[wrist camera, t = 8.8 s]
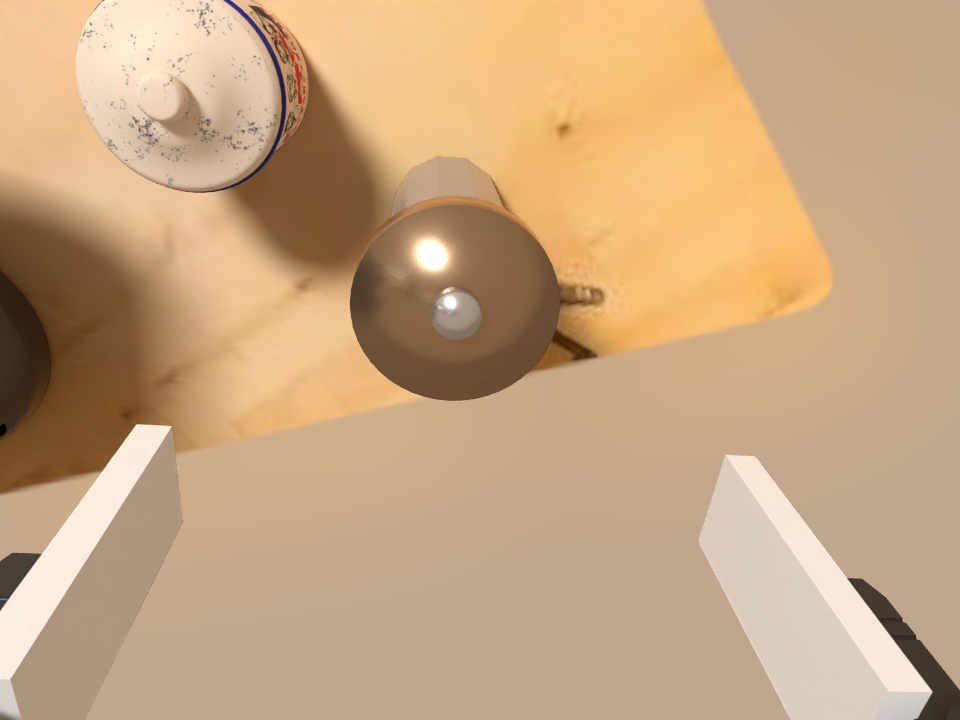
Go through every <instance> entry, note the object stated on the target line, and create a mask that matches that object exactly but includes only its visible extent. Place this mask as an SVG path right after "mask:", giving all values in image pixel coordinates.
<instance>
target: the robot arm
mask: <svg viewBox="0 0 960 720" xmlns="http://www.w3.org/2000/svg"><path fill="white" fill-rule="evenodd" d="M49 377H50V353H49V347H48V343H47V339H46V336H45V333H44V331H43V328H42V326H41V324H40V322H39V320H38V318H37V316H36V314H35V313H34V311H33V309H32V308H31V306H30V305H29V303H28V302H27V300H26V299H25V298H24V297H23V295H22V294H21V293H20V292H19V290H18V289H17V288H16V287H15V286H14V285H13V284H12V283H11V282H10V281H9V280H8V279H7V278H6V277H5V276H4V275H3V274H2V273H0V441H1V440H2V439H4V438H5V437H7V436H8V435H9V434H11V433H12V432H13V431H14V430H15V429H16V428H17V427H18V426H19V425H20V424H21V423H22V422H23V421H24V420H25V419H26V418H28V417H29V416H30V415H31V414H32V413H33V411H34V410H35V409H36V408H37V406H38V405H39V404H40V402H41V400H42V398H43V396H44V394H45V392H46V389H47V386H48V382H49ZM182 523H183V522H182V512H181V503H180V494H179V485H178V476H177V466H176V457H175V448H174V439H173V429H172V426H160V425H141V424H137V425H136V426H135V427H134V429H133V430H132V431H131V433H130V434H129V436H128V437H127V438H126V440H125V441H124V442H123V444H122V445H121V446H120V448H119V449H118V451H117V452H116V453H115V455H114V456H113V457H112V459H111V460H110V462H109V463H108V464H107V466H106V467H105V468H104V470H103V471H102V472H101V474H100V475H99V477H98V478H97V479H96V481H95V482H94V483H93V485H92V486H91V488H90V489H89V490H88V492H87V493H86V494H85V496H84V497H83V498H82V500H81V501H80V503H79V504H78V505H77V507H76V508H75V509H74V511H73V512H72V514H71V515H70V516H69V518H68V519H67V520H66V522H65V523H64V525H63V526H62V527H61V529H60V530H59V531H58V533H57V534H56V536H55V537H54V538H53V540H52V541H51V542H50V544H49V545H48V547H47V548H46V549H45V550H44V552H43V553H42V554H31V553H30V554H29V553H11V554H10V555H9V556H7V557H6V558H4V559H3V560H1V561H0V720H85V719H86V717H87V714H88V713H89V711H90V709H91V707H92V704H93V702H94V700H95V698H96V696H97V694H98V692H99V690H100V688H101V686H102V684H103V682H104V680H105V678H106V676H107V674H108V672H109V670H110V668H111V666H112V664H113V662H114V660H115V658H116V656H117V654H118V652H119V650H120V648H121V646H122V644H123V642H124V639H125V638H126V636H127V634H128V632H129V630H130V627H131V626H132V624H133V621H134V620H135V618H136V616H137V614H138V612H139V610H140V608H141V605H142V604H143V601H144V599H145V597H146V595H147V593H148V591H149V589H150V587H151V585H152V583H153V581H154V579H155V577H156V575H157V573H158V571H159V569H160V567H161V565H162V563H163V561H164V559H165V557H166V555H167V553H168V551H169V549H170V547H171V545H172V543H173V541H174V539H175V537H176V535H177V533H178V530H179V529H180V527H181V525H182ZM698 542H699V544H700V546H701V548H702V550H703V552H704V554H705V556H706V558H707V559H708V562H709V563H710V565H711V567H712V569H713V571H714V573H715V575H716V577H717V579H718V581H719V582H720V585H721V587H722V588H723V590H724V592H725V594H726V596H727V598H728V600H729V602H730V604H731V606H732V608H733V610H734V612H735V613H736V615H737V617H738V619H739V621H740V623H741V625H742V627H743V629H744V631H745V633H746V635H747V637H748V639H749V640H750V642H751V644H752V646H753V648H754V650H755V652H756V654H757V656H758V658H759V660H760V662H761V664H762V665H763V667H764V669H765V671H766V673H767V675H768V677H769V679H770V681H771V683H772V685H773V687H774V689H775V690H776V692H777V694H778V696H779V698H780V700H781V702H782V704H783V706H784V708H785V710H786V711H787V713H788V715H789V717H790V719H791V720H960V690H959V689H958V688H957V686H956V685H955V684H954V683H953V681H952V680H951V679H950V677H949V676H948V675H947V674H946V672H945V671H944V670H943V669H942V667H941V666H940V665H939V664H938V663H937V661H936V660H935V659H934V657H933V656H932V655H931V654H930V652H929V651H928V650H927V649H926V647H925V646H924V645H923V644H922V642H921V641H920V640H917V639H916V635H915V634H914V632H913V631H912V630H911V629H910V627H909V626H908V625H907V624H906V623H903V621H902V617H901V616H900V615H899V613H898V612H897V611H896V610H895V608H894V607H893V606H892V605H891V603H890V602H889V601H888V600H887V598H886V597H885V596H883V595H882V594H881V593H879V592H878V591H877V590H876V589H874V588H873V587H872V586H871V585H869V584H868V583H867V582H865V581H864V580H863V579H853V578H846V576H845V575H844V574H843V572H842V571H841V570H840V569H839V567H838V566H837V565H836V563H835V562H834V561H833V559H832V558H831V557H830V555H829V554H828V553H827V551H826V550H825V549H824V547H823V546H822V545H821V543H820V542H819V541H818V539H817V538H816V537H815V535H814V534H813V533H812V531H811V530H810V529H809V527H808V526H807V525H806V523H805V522H804V521H803V519H802V518H801V517H800V515H799V514H798V513H797V511H796V510H795V509H794V507H793V506H792V505H791V504H790V502H789V501H788V500H787V498H786V497H785V496H784V495H783V493H782V492H781V490H780V489H779V488H778V486H777V485H776V484H775V482H774V481H773V480H772V478H771V477H770V476H769V474H768V473H767V472H766V470H765V469H764V468H763V466H762V465H761V464H760V462H759V461H758V460H757V459H756V457H755V456H737V455H736V456H735V455H725V458H724V462H723V465H722V468H721V471H720V474H719V477H718V481H717V484H716V487H715V490H714V494H713V497H712V500H711V503H710V506H709V509H708V512H707V516H706V519H705V522H704V525H703V528H702V532H701V535H700V538H699V541H698Z"/></svg>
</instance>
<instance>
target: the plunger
mask: <svg viewBox="0 0 960 720" xmlns="http://www.w3.org/2000/svg"><path fill="white" fill-rule="evenodd" d="M559 309H560V295H559V287H558V282H557V277H556V275H555V272H554V269H553V266H552V264H551V262H550V260H549V258H548V256H547V254H546V252H545V250H544V248H543V246H542V244H541V242H540V241H539V239H538V238H537V237H536V235H535V234H534V232H533V231H532V230H531V229H530V228H529V227H528V226H527V225H526V224H525V223H524V222H523V221H522V220H521V219H519V218H518V217H517V216H516V215H514V214H513V213H511V212H510V211H508V210H506V209H505V208H503V207H501V206H498V205H496V204H494V203H492V202H489V201H485V200H482V199H478V198H473V197H466V196H444V197H435V198H431V199H427V200H423V201H420V202H418V203H415V204H413V205H410V206H408V207H406V208H405V209H403V210H401V211H399V212H398V213H396V214H395V215H394V216H392V217H391V218H390V219H388V220H387V221H386V222H385V223H384V224H383V225H382V226H381V227H380V228H379V229H378V230H377V231H376V232H375V234H374V235H373V236H372V238H371V239H370V240H369V242H368V243H367V245H366V247H365V249H364V251H363V253H362V255H361V258H360V260H359V263H358V266H357V269H356V272H355V276H354V279H353V284H352V288H351V297H350V311H351V319H352V324H353V329H354V331H355V334H356V337H357V340H358V342H359V344H360V346H361V348H362V350H363V352H364V353H365V354H366V356H367V357H368V359H369V360H370V362H371V363H372V364H373V365H374V366H375V367H376V368H377V369H378V370H379V371H380V372H381V373H382V374H383V375H384V376H385V377H387V378H388V379H389V380H390V381H392V382H394V383H395V384H397V385H398V386H400V387H402V388H404V389H406V390H408V391H410V392H412V393H415V394H418V395H421V396H424V397H428V398H432V399H438V400H448V401H452V400H453V401H456V400H457V401H458V400H469V399H476V398H480V397H484V396H488V395H490V394H493V393H496V392H499V391H501V390H503V389H505V388H507V387H508V386H510V385H512V384H513V383H515V382H516V381H518V380H519V379H521V378H522V377H523V376H524V375H526V374H527V373H528V372H529V371H530V370H531V369H532V368H533V367H534V366H535V365H536V364H537V363H538V361H539V360H540V359H541V357H542V356H543V354H544V353H545V352H546V350H547V348H548V346H549V344H550V342H551V341H552V338H553V335H554V333H555V330H556V327H557V322H558V318H559Z"/></svg>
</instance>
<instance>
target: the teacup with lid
mask: <svg viewBox="0 0 960 720" xmlns="http://www.w3.org/2000/svg"><path fill="white" fill-rule="evenodd" d="M76 78H77V85H78V90H79V94H80V98H81V101H82V104H83V107H84V110H85V112H86V114H87V117H88V119H89V121H90V123H91V125H92V126H93V128H94V130H95V131H96V133H97V134H98V136H99V137H100V139H101V140H102V141H103V143H104V144H105V145H106V146H107V148H108V149H109V150H110V151H111V152H112V153H113V154H114V155H115V156H116V157H117V158H118V159H119V160H120V161H121V162H123V163H124V164H125V165H126V166H127V167H129V168H130V169H132V170H133V171H135V172H136V173H138V174H139V175H141V176H143V177H144V178H146V179H148V180H150V181H152V182H155V183H157V184H160V185H162V186H165V187H168V188H172V189H175V190H180V191H185V192H195V193H206V192H215V191H220V190H225V189H228V188H231V187H234V186H236V185H238V184H240V183H242V182H244V181H246V180H247V179H249V178H250V177H252V176H253V175H254V174H256V173H257V172H258V171H259V170H260V169H261V168H262V167H263V166H264V165H265V164H266V163H267V161H268V160H269V159H270V157H271V156H272V154H273V153H274V151H276V150H277V149H278V148H279V147H281V146H282V145H283V144H284V143H285V142H286V141H288V140H289V139H290V138H291V136H292V135H293V134H294V133H295V131H296V130H297V128H298V127H299V125H300V123H301V121H302V119H303V117H304V114H305V111H306V107H307V102H308V95H309V81H308V73H307V67H306V64H305V60H304V57H303V55H302V52H301V50H300V48H299V46H298V44H297V42H296V40H295V38H294V37H293V35H292V34H291V32H290V31H289V30H288V28H287V27H286V26H285V25H284V24H283V22H282V21H281V20H280V19H279V18H278V17H277V16H275V15H274V14H273V13H272V12H271V11H269V10H268V9H267V8H265V7H264V6H262V5H261V4H259V3H257V2H255V1H253V0H103V1H102V2H101V3H100V4H99V5H98V6H97V7H96V8H95V10H94V11H93V13H92V14H91V15H90V17H89V19H88V21H87V23H86V25H85V26H84V29H83V31H82V34H81V37H80V40H79V44H78V49H77V55H76Z"/></svg>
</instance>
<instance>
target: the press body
mask: <svg viewBox="0 0 960 720" xmlns="http://www.w3.org/2000/svg"><path fill="white" fill-rule="evenodd" d="M444 196H466V197H473V198H478V199H482V200H485V201H489V202H492V203H494V204H496V205H498V206H501V207H503V208H504V206H503V204H502V202H501V199H500V197H499V195H498V193H497V190H496V188H495V186H494V184H493V181H492V179H491V177H490V175H488V174H487V173H485V172H484V171H483V170H481V169H480V168H478V167H477V166H476V165H474V164H473V163H471V162H470V161H469V160H467V159H462V158H450V157H438V156H437V157H435V158H433V159H431V160H429V161H427V162H425V163H423V164H421V165H419V166H417V167H414V168H412V169H411V170H410V172H409V173H408V175H407V176H406V178H405V179H404V181H403V182H402V184H401V185H400V187H399V188H398V190H397V192H396V193H395V197H394V201H393V206H392V210H391V215H390V218H391V217H392V216H394V215H395V214H396V213H398V212H399V211H401V210H403V209H405V208H406V207H408V206H410V205H413V204H415V203H418V202H420V201H423V200H427V199H431V198H435V197H444Z"/></svg>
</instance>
